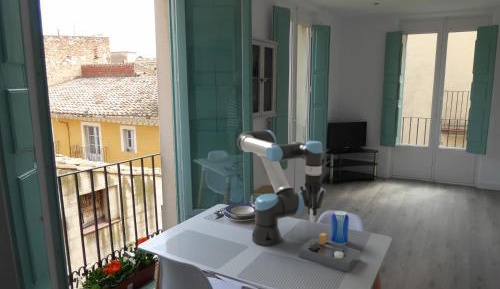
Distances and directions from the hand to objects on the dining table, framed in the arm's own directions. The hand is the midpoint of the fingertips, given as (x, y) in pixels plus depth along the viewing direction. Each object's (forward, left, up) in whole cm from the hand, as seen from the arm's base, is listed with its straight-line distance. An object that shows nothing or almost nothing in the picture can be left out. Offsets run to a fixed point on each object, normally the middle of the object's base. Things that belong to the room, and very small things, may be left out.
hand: (312, 221), depth 171 cm
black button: (+5, -7, -11) cm, 14 cm away
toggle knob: (+6, 0, -10) cm, 11 cm away
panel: (+11, -3, -15) cm, 18 cm away
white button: (+17, -7, -12) cm, 22 cm away
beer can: (+8, +16, -15) cm, 23 cm away
